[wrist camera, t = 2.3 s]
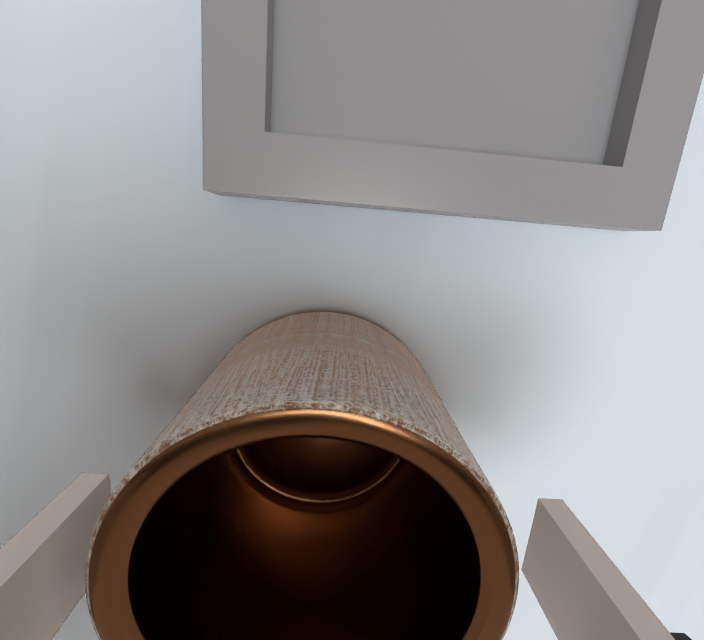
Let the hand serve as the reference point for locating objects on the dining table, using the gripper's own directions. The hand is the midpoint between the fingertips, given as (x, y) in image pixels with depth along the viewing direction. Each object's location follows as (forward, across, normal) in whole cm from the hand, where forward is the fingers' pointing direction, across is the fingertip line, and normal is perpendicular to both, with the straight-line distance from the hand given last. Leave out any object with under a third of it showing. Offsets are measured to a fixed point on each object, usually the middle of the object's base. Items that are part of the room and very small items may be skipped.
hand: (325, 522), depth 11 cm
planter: (+7, 0, 0) cm, 7 cm away
